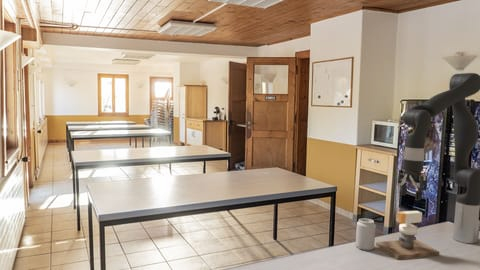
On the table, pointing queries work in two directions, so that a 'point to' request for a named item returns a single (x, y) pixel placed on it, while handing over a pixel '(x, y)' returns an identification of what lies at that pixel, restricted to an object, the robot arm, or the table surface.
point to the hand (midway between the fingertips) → (410, 197)
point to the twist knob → (408, 221)
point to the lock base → (406, 252)
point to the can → (365, 234)
